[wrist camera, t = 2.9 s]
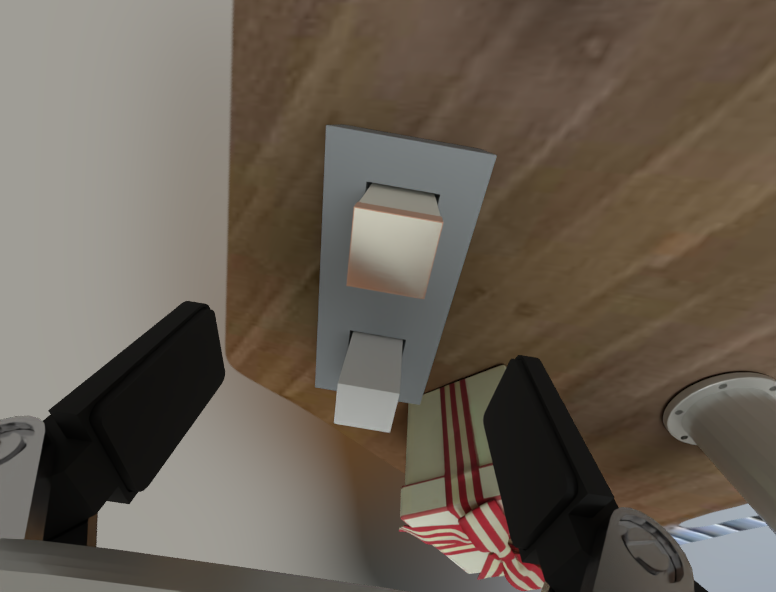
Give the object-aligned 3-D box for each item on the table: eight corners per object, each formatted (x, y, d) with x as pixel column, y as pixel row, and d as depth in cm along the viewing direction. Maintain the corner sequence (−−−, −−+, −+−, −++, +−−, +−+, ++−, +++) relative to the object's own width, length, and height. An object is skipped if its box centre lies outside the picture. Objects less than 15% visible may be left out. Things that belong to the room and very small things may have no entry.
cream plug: (421, 237, 30) (424, 299, 19) (370, 229, 30) (346, 285, 19) (432, 184, 27) (443, 222, 17) (377, 174, 27) (353, 206, 17)
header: (419, 367, 39) (420, 461, 28) (328, 352, 39) (294, 440, 28) (480, 148, 26) (527, 167, 15) (344, 124, 26) (292, 125, 15)
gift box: (383, 410, 44) (367, 557, 29) (498, 353, 37) (553, 508, 22) (449, 468, 50) (463, 615, 35) (558, 428, 43) (634, 590, 28)
